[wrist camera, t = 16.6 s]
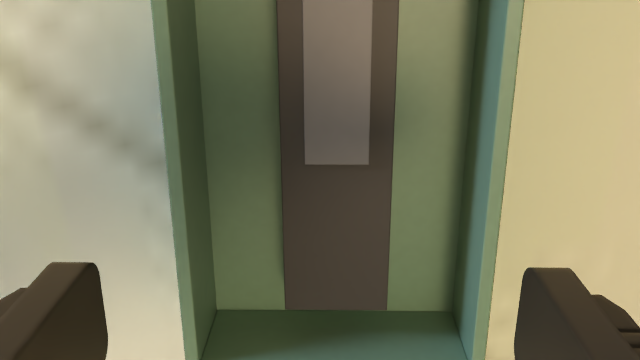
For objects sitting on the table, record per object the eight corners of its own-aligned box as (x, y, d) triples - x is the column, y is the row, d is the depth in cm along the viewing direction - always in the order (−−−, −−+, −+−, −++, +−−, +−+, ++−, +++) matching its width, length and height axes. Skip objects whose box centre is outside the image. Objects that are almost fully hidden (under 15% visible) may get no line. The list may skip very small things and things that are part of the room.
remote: (289, 274, 30) (284, 312, 27) (281, -72, 25) (273, -75, 22) (381, 275, 30) (387, 313, 27) (394, -72, 25) (403, -76, 22)
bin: (208, 312, 32) (186, 375, 27) (173, -140, 25) (134, -162, 20) (460, 314, 32) (483, 379, 27) (502, -142, 24) (543, -165, 20)
